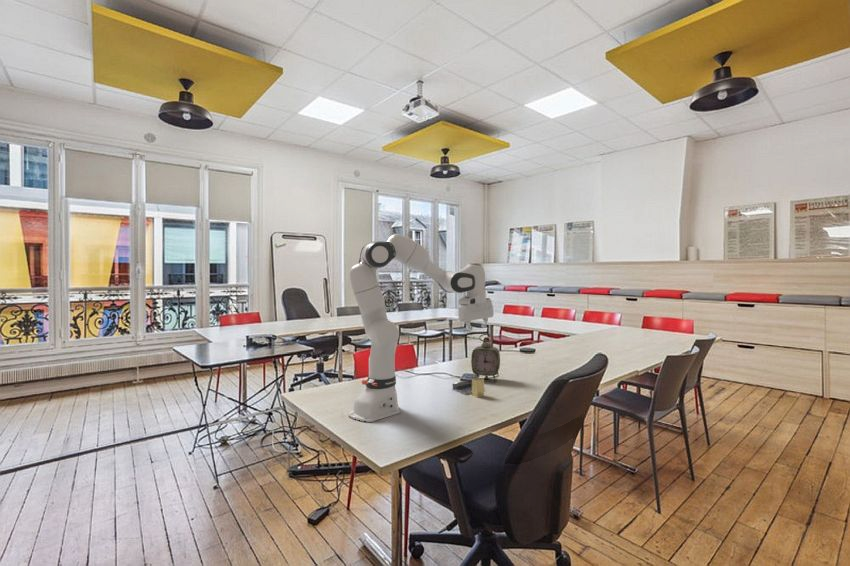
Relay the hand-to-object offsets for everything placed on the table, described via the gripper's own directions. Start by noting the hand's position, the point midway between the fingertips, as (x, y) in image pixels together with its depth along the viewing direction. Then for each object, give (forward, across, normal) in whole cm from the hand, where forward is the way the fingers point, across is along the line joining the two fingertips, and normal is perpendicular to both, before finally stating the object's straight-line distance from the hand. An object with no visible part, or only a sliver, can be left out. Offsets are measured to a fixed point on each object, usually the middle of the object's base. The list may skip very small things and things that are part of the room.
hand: (477, 329), depth 182 cm
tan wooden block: (+32, -2, -3) cm, 33 cm away
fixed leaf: (+32, -5, -12) cm, 35 cm away
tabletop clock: (+33, -26, -18) cm, 46 cm away
